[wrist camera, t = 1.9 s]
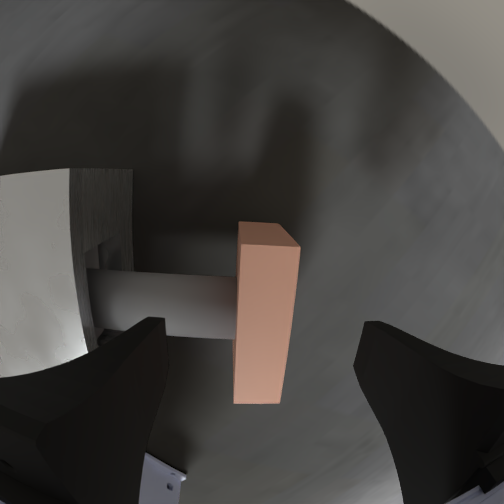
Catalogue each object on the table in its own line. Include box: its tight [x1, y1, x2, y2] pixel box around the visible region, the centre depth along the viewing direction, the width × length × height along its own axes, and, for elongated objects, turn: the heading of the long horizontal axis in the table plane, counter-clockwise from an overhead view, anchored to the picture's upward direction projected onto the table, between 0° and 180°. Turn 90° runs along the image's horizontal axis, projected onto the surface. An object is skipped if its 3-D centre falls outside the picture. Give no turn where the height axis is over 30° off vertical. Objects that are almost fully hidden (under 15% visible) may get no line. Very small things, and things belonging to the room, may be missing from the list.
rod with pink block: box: [85, 221, 301, 404], centre depth 12 cm, size 7×19×5 cm, turn 86°
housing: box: [0, 168, 134, 378], centre depth 13 cm, size 12×12×7 cm
